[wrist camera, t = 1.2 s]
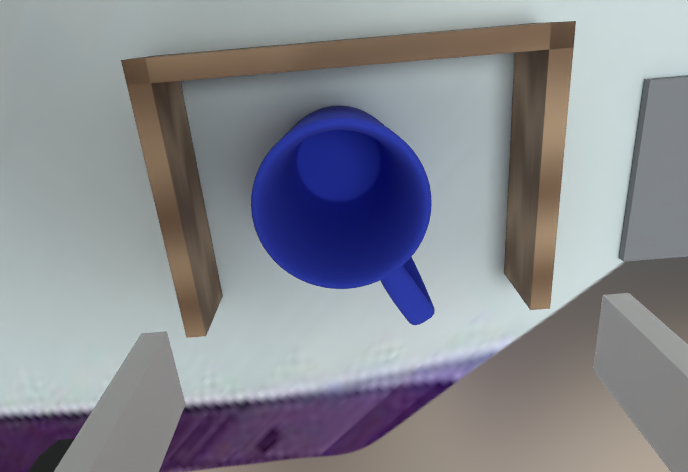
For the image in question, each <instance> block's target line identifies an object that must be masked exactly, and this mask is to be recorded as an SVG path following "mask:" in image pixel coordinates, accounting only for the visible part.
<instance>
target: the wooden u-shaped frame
mask: <svg viewBox="0 0 688 472" xmlns="http://www.w3.org/2000/svg"><path fill="white" fill-rule="evenodd" d="M575 24H576V21H569V22H548V23H531V24H519V25H508V26H496V27H484V28H473V29H461V30H449V31H438V32H426V33H414V34H403V35H391V36H379V37H368V38H356V39H344V40H333V41H321V42H309V43H298V44H286V45H274V46H263V47H251V48H240V49H228V50H216V51H205V52H193V53H181V54H170V55H158V56H149V57H141V58H134V59H126V60H121V62H122V66H123V70H124V74H125V79H126V83H127V87H128V91H129V96H130V100H131V104H132V108H133V112H134V117H135V121H136V125H137V129H138V134H139V138H140V142H141V146H142V151H143V155H144V159H145V163H146V168H147V172H148V176H149V180H150V185H151V189H152V193H153V197H154V202H155V206H156V210H157V214H158V218H159V223H160V227H161V231H162V235H163V240H164V244H165V248H166V252H167V257H168V261H169V265H170V269H171V274H172V278H173V282H174V286H175V291H176V295H177V299H178V303H179V308H180V312H181V316H182V320H183V324H184V329H185V333H186V337H199V336H206V335H207V332H208V330H209V327H210V325H211V323H212V320H213V318H214V315H215V313H216V311H217V308H218V306H219V303H220V301H221V299H222V291H221V286H220V281H219V276H218V271H217V266H216V261H215V256H214V250H213V245H212V240H211V235H210V230H209V225H208V220H207V215H206V210H205V205H204V199H203V194H202V189H201V184H200V179H199V174H198V169H197V164H196V159H195V154H194V148H193V143H192V138H191V133H190V128H189V123H188V118H187V113H186V108H185V103H184V97H183V92H182V87H181V82H180V81H184V80H196V79H208V78H220V77H231V76H243V75H255V74H267V73H278V72H290V71H302V70H314V69H325V68H337V67H349V66H361V65H372V64H384V63H396V62H408V61H419V60H431V59H443V58H454V57H466V56H478V55H490V54H501V53H513V52H515V61H514V81H513V102H512V123H511V144H510V165H509V185H508V206H507V227H506V248H505V268H504V274H505V275H506V277H507V278H508V279H509V281H510V282H511V284H512V285H513V286H514V288H515V289H516V291H517V292H518V293H519V295H520V296H521V298H522V299H523V300H524V302H525V303H526V305H527V306H528V307H529V309H530V310H536V309H549V308H550V303H551V291H552V280H553V269H554V258H555V247H556V236H557V225H558V214H559V202H560V191H561V180H562V169H563V158H564V147H565V136H566V124H567V113H568V102H569V91H570V80H571V69H572V58H573V47H574V35H575Z"/></svg>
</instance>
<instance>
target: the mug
mask: <svg viewBox="0 0 688 472" xmlns="http://www.w3.org/2000/svg"><path fill="white" fill-rule="evenodd" d="M251 209H252V218H253V222H254V227H255V230H256V232H257V235H258V237H259V239H260V241H261V243H262V245H263V247H264V248H265V250H266V251H267V253H268V254H269V255H270V256H271V258H272V259H273V260H274V261H275V262H276V263H277V264H278V265H279V266H280V267H281V268H283V269H284V270H285V271H287V272H288V273H289V274H291V275H293V276H294V277H296V278H298V279H300V280H302V281H305V282H307V283H310V284H313V285H316V286H321V287H325V288H333V289H348V288H356V287H361V286H365V285H369V284H372V283H374V282H377V281H379V280H380V281H381V282H382V284H383V286H384V288H385V289H386V291H387V293H388V294H389V296H390V297H391V299H392V300H393V302H394V303H395V304H396V306H397V307H398V309H399V310H400V311H401V313H402V314H403V315H404V316H405V318H406V319H407V320H408V322H409V323H410V324H412V325H418V324H421V323H423V322H425V321H426V320H428V319H430V318H431V317H432V316H433V314H434V306H433V304H432V302H431V299H430V297H429V295H428V292H427V290H426V288H425V285H424V283H423V281H422V278H421V276H420V274H419V272H418V270H417V268H416V265H415V263H414V261H413V259H412V257H411V256H412V255H413V254H414V253H415V251H416V250H417V248H418V247H419V245H420V243H421V242H422V240H423V238H424V235H425V233H426V230H427V227H428V224H429V220H430V215H431V191H430V185H429V181H428V178H427V175H426V172H425V170H424V168H423V166H422V164H421V162H420V160H419V158H418V157H417V155H416V154H415V153H414V151H413V150H412V149H411V148H410V146H409V145H408V144H407V143H406V142H405V141H403V140H402V139H401V138H400V137H399V136H398V135H396V134H395V133H394V132H392V131H391V130H390V129H388V128H387V127H386V126H385V125H383V124H382V123H381V122H379V121H378V120H377V119H376V118H374V117H373V116H371V115H370V114H368V113H366V112H364V111H362V110H359V109H356V108H353V107H348V106H331V107H326V108H322V109H319V110H317V111H314V112H312V113H311V114H309V115H307V116H306V117H304V118H303V119H302V120H301V121H300V122H298V123H297V124H296V125H295V126H294V127H293V128H292V129H291V130H290V131H289V132H288V133H287V134H286V135H285V136H284V137H283V138H282V139H281V140H280V141H279V142H278V143H276V144H275V146H274V147H273V148H272V149H271V150H270V151H269V153H268V154H267V155H266V157H265V158H264V160H263V162H262V163H261V165H260V167H259V169H258V172H257V174H256V177H255V180H254V184H253V189H252V195H251Z"/></svg>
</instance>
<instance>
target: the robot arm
mask: <svg viewBox="0 0 688 472" xmlns="http://www.w3.org/2000/svg"><path fill="white" fill-rule="evenodd" d="M593 371H594V372H595V374H596V375H597V376H598V378H599V379H600V380H601V382H602V383H603V384H604V386H605V387H606V388H607V389H608V391H609V392H610V393H611V394H612V396H613V397H614V398H615V400H616V401H617V402H618V404H619V405H620V406H621V408H622V409H623V410H624V411H625V413H626V414H627V415H628V417H629V418H630V419H631V420H632V422H633V423H634V424H635V426H636V427H637V428H638V430H639V431H640V432H641V433H642V435H643V436H644V437H645V439H646V440H647V441H648V442H649V444H650V445H651V446H652V448H653V449H654V450H655V452H656V453H657V454H658V455H659V457H660V458H661V459H662V461H663V462H664V463H665V464H666V466H667V467H668V468H669V470H670V471H671V472H688V345H687V344H686V343H685V342H684V341H683V340H682V339H681V338H679V337H678V336H677V335H676V334H675V333H674V332H673V331H671V330H670V329H669V328H668V327H667V326H666V325H664V324H663V323H662V322H661V321H660V320H659V319H658V318H656V317H655V316H654V315H653V314H652V313H651V312H650V311H649V310H648V309H646V308H645V307H644V306H643V305H642V304H641V303H640V302H638V301H637V300H636V299H635V298H634V297H632V295H630V294H629V293H622V294H610V295H603V300H602V306H601V315H600V322H599V330H598V337H597V345H596V353H595V360H594V368H593ZM184 406H185V401H184V397H183V393H182V389H181V385H180V381H179V377H178V373H177V369H176V366H175V362H174V358H173V354H172V350H171V346H170V342H169V338H168V334H167V332H155V333H143V334H141V335H140V337H139V338H138V340H137V342H136V343H135V345H134V346H133V348H132V350H131V351H130V353H129V354H128V356H127V357H126V359H125V361H124V362H123V364H122V365H121V367H120V368H119V370H118V372H117V373H116V375H115V376H114V378H113V379H112V381H111V383H110V384H109V386H108V387H107V389H106V390H105V392H104V394H103V395H102V397H101V398H100V400H99V401H98V403H97V405H96V406H95V408H94V409H93V411H92V412H91V414H90V416H89V417H88V419H87V420H86V422H85V423H84V425H83V427H82V428H81V430H80V431H79V433H78V435H77V436H76V438H75V439H65V440H58V441H56V442H55V443H54V444H53V445H52V446H51V447H50V448H48V449H47V450H46V451H45V452H44V453H43V454H41V455H40V456H39V457H38V458H37V460H36V461H35V463H34V464H33V466H32V467H31V468H30V470H29V471H28V472H159V469H160V467H161V464H162V462H163V459H164V457H165V454H166V452H167V449H168V447H169V444H170V442H171V439H172V437H173V434H174V432H175V429H176V427H177V424H178V421H179V419H180V416H181V414H182V411H183V409H184Z"/></svg>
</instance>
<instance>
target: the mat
mask: <svg viewBox="0 0 688 472" xmlns="http://www.w3.org/2000/svg"><path fill="white" fill-rule="evenodd" d="M685 256H688V76H678V77H666V78H654V79H644V86H643V93H642V100H641V107H640V114H639V121H638V128H637V135H636V142H635V149H634V156H633V163H632V169H631V176H630V183H629V190H628V197H627V204H626V211H625V218H624V225H623V232H622V239H621V246H620V253H619V258H620V259H621V260H622V261H634V260H647V259H660V258H672V257H685Z"/></svg>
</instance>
